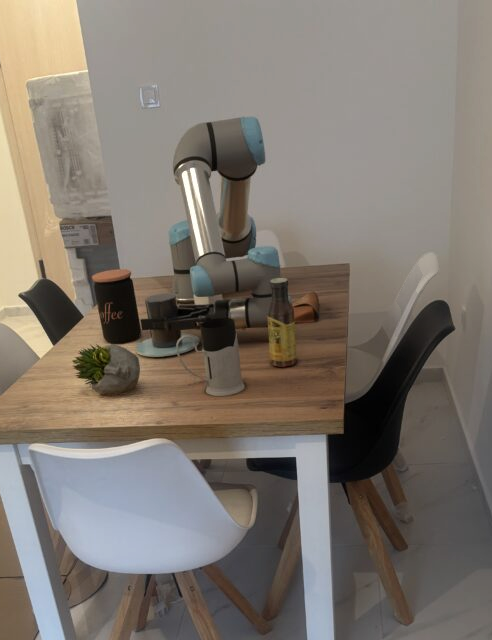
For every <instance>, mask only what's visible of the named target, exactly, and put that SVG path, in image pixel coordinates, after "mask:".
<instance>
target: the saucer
mask: <svg viewBox="0 0 492 640" xmlns="http://www.w3.org/2000/svg"><path fill="white" fill-rule="evenodd" d="M181 334H182V337H183V336H190V337H192V338H193V339H194V340H195V342H196V345H197V347H198V346H199V345H200V341H201V339H200V338H199V337H198V336H197V335H194V334H190V333H181ZM178 350H179V354H183V353H187V352H189V351H192V350H195V346H194V342H193V341H192V339H190V338H183V339H182V342H181V343H180V344H179V345H178ZM135 352H136V353H137V354H138V355H140V356H143V357H150V358H160V357H170V356H176V355H177V350H176V346H172V347H166V348H158V347H154V346H153V345H152V339H151V337H150V338H147V339H145V340H142V341H141V342H139V343H138V344H137V345H136V346H135Z"/></svg>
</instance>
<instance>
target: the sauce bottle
mask: <svg viewBox="0 0 492 640" xmlns="http://www.w3.org/2000/svg"><path fill="white" fill-rule="evenodd" d="M270 287H271V293H272V301H271V304H270V308H269V312H268V327H267V329H268V330H267V331H268V345H269V347H268V348H269V359H270V362H271V365H272V366H274V367H278V368H286V367H287V368H288V367H290V366H293V365H295V364H296V362H297V341H296V337H297V336H296V323H295V320H294V309H293V306H292V305H291V303H292V302H291V303H290V302H289V300H288V296H289V290H288V289H289V288H288V287H289V279H288V278H286V277H281V278H275V279H272V280H271V281H270Z"/></svg>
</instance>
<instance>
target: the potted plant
mask: <svg viewBox="0 0 492 640" xmlns="http://www.w3.org/2000/svg"><path fill="white" fill-rule="evenodd" d="M89 346H90V347H91V348H90V347H86V348H85V347H82V349H80V350H78V352H77V353H76V354H78V355H80V356H74V359H73V360H71V362H72V363H73V364H72V367H73V368H72V369H73V370H75V371H77V372H74V373H73V374H75V375H74V377H76V379H81V380H85V381H84V385H89V386H91V389H92V390H93V391H94V392H96V393H97V394H98V395H100V396H102V397H103V396H112V395H117V394H122V393H124V392H127V391H130V390H133V389H135V388H136V386H137V385H138V382H139V380H140V374H141V367H140V366H141V365H140V359H139V357H138V356H137V355H136V354H135V353H134V352H132V351H130V350H129V349H127V348H126V347H124V346H120V345H118V344H108V345H105V346H101V345H98V344H97V343H95V346H93V345H92V344H89Z"/></svg>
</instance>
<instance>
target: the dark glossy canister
mask: <svg viewBox="0 0 492 640" xmlns="http://www.w3.org/2000/svg"><path fill="white" fill-rule="evenodd" d="M144 302H145V308H146V309H145V310H146V313H147V319H151V318H164V317H165V316H166V317H167V319H169V318H175V317H179V314H178V302H177V300H176V295H175V294H171V292H170V293H169V292H168V293H166V292H165V293H157V294H153V295H150V296H147V297H146V298H145V299H144ZM149 333H150V338H151V339H152V345H153V346H154V347H158V348H166V347H172V346H176V344H177V341H178V340H179V339H180V338H181V337H182V334H183V333H182V330H179V331H170V332H167V330H166V329H156V330H149ZM181 342H182V340H181V341H180V342H179V344H180V343H181Z"/></svg>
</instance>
